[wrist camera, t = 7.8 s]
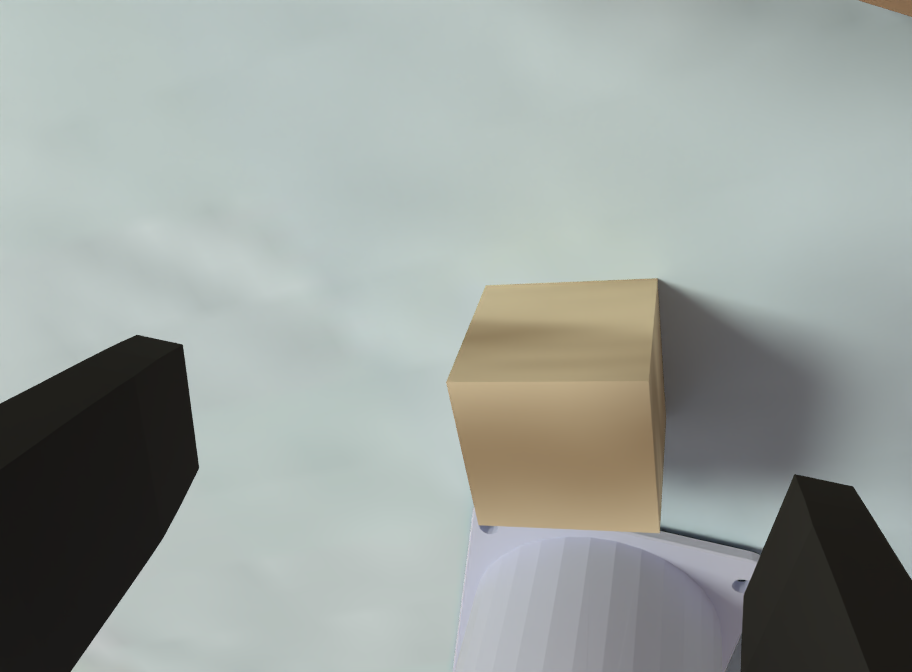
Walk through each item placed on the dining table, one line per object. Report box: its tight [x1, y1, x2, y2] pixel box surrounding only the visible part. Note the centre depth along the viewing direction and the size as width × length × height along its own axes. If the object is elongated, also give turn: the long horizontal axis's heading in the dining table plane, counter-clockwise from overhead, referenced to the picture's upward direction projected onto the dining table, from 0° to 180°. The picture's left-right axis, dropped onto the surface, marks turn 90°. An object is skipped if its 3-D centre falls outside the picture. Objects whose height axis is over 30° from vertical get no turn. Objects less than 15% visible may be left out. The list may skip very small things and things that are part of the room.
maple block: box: [446, 279, 666, 533], centre depth 19 cm, size 4×4×4 cm
